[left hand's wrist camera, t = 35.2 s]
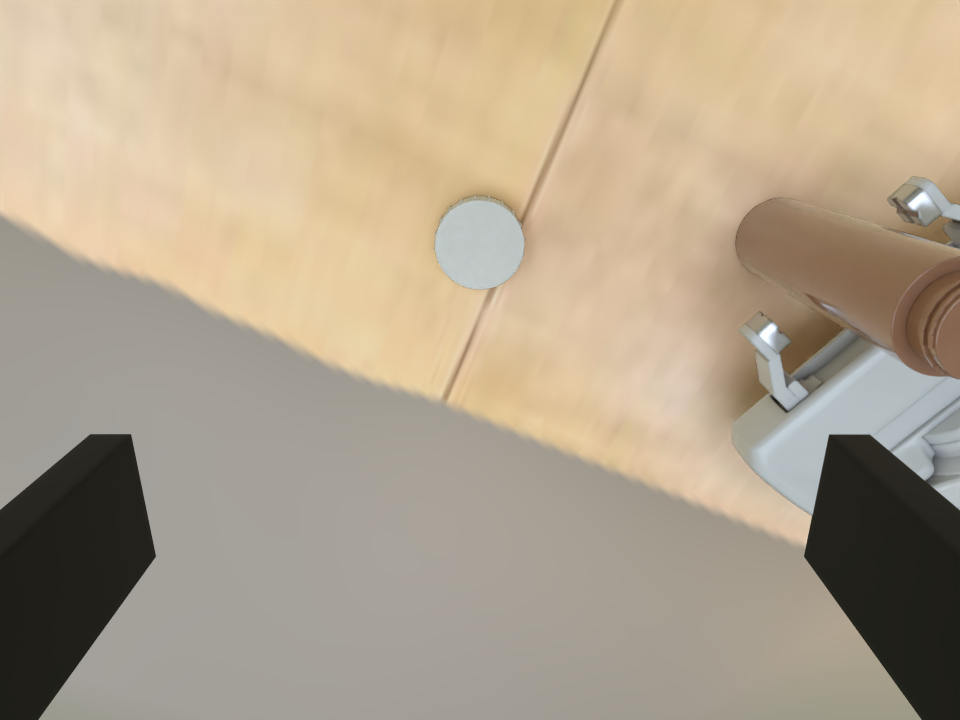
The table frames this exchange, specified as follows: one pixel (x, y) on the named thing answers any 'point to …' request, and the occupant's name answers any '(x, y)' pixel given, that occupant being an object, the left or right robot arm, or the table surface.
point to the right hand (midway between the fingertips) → (826, 258)
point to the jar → (862, 279)
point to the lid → (479, 242)
